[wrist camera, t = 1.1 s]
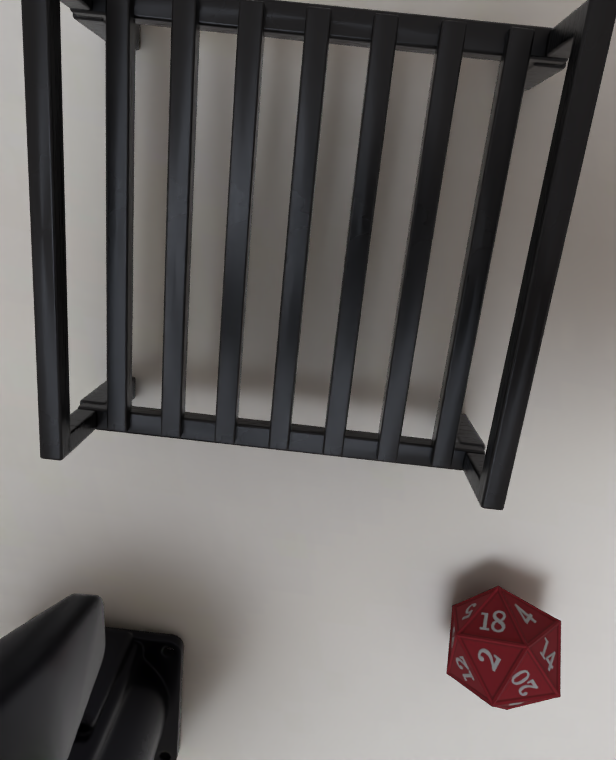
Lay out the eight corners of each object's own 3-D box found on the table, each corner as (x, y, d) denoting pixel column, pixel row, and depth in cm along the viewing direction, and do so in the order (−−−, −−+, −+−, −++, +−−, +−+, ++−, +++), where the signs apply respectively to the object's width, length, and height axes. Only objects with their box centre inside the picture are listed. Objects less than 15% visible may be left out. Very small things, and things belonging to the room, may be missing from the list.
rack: (461, 434, 20) (507, 515, 15) (113, 395, 20) (35, 462, 15) (535, 60, 17) (628, -8, 11) (113, 17, 17) (11, -69, 11)
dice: (562, 619, 22) (610, 706, 18) (460, 666, 23) (485, 759, 19) (518, 547, 21) (558, 622, 17) (413, 598, 22) (429, 681, 18)
